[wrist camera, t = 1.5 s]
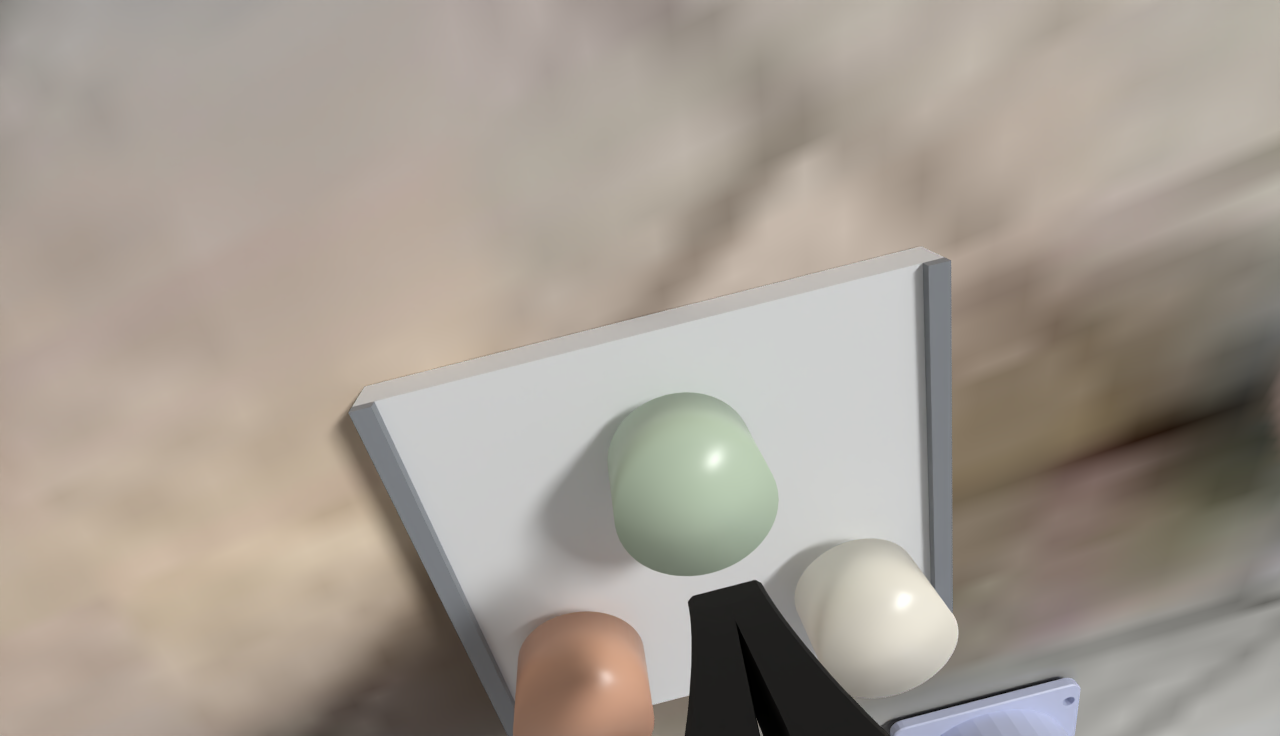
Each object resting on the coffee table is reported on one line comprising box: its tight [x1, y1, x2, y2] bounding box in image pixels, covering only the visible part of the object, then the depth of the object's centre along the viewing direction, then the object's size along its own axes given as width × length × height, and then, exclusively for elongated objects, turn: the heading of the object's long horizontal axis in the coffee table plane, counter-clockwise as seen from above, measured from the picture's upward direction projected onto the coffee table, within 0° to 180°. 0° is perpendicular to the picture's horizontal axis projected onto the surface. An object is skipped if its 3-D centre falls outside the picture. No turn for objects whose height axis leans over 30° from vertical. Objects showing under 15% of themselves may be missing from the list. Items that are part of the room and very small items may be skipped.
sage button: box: [607, 392, 779, 576], centre depth 16 cm, size 4×4×2 cm
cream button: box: [794, 538, 958, 699], centre depth 19 cm, size 4×4×2 cm
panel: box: [348, 246, 953, 736], centre depth 20 cm, size 14×16×2 cm
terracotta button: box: [513, 611, 654, 736], centre depth 19 cm, size 4×4×2 cm
